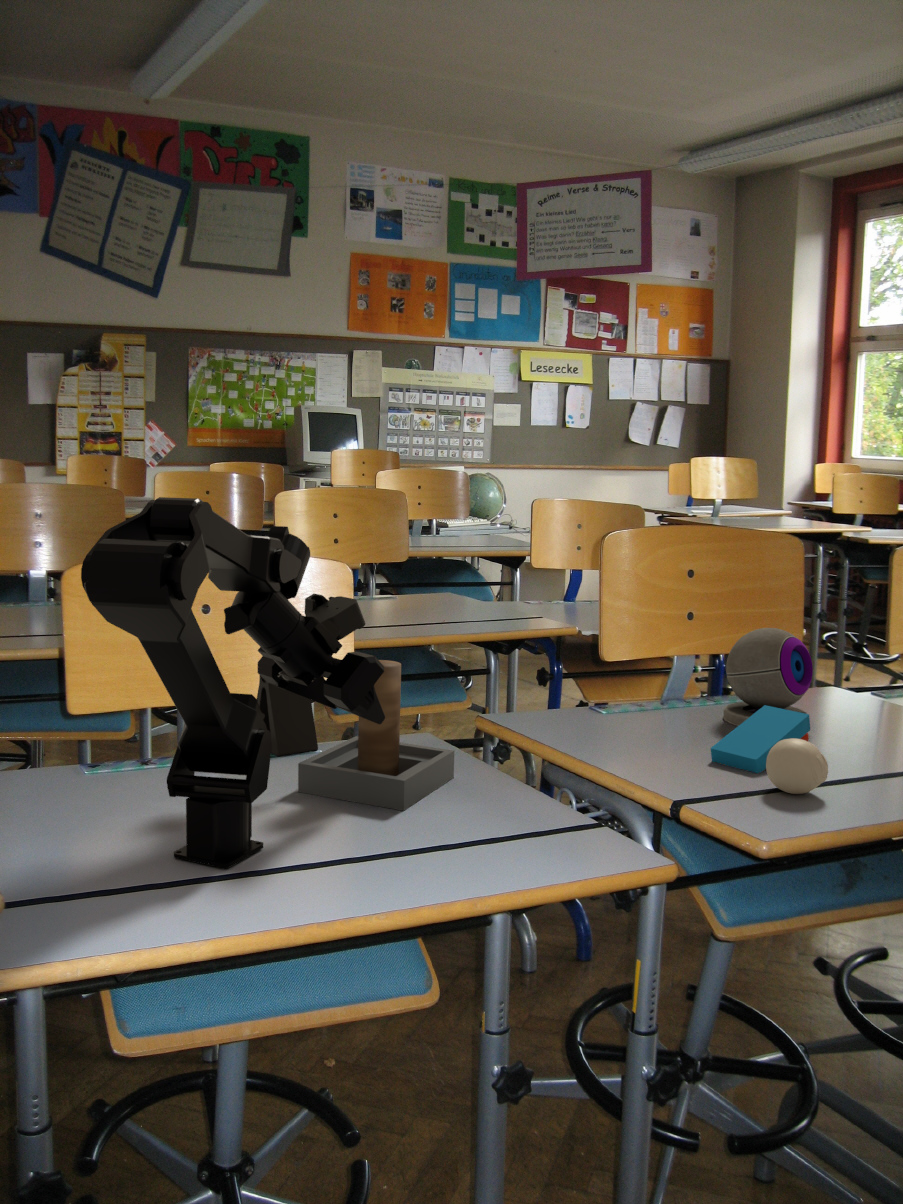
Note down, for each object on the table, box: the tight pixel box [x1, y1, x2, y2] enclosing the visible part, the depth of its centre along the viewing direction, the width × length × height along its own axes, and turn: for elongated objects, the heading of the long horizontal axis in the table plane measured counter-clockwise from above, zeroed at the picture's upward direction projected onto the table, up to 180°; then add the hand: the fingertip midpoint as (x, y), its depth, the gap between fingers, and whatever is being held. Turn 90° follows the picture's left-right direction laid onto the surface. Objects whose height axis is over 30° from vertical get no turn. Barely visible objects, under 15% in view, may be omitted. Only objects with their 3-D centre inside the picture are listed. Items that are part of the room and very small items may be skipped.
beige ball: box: [765, 738, 829, 795], centre depth 125 cm, size 7×7×7 cm
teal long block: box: [710, 705, 811, 774], centre depth 142 cm, size 7×7×18 cm
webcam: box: [723, 627, 814, 727], centre depth 161 cm, size 13×13×15 cm
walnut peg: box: [357, 659, 402, 776], centre depth 123 cm, size 5×5×15 cm
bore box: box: [297, 735, 455, 812], centre depth 124 cm, size 14×14×4 cm
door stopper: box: [256, 674, 319, 757], centre depth 139 cm, size 9×6×12 cm, turn 35°
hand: (359, 713), depth 121 cm, fingers open, 9 cm apart
